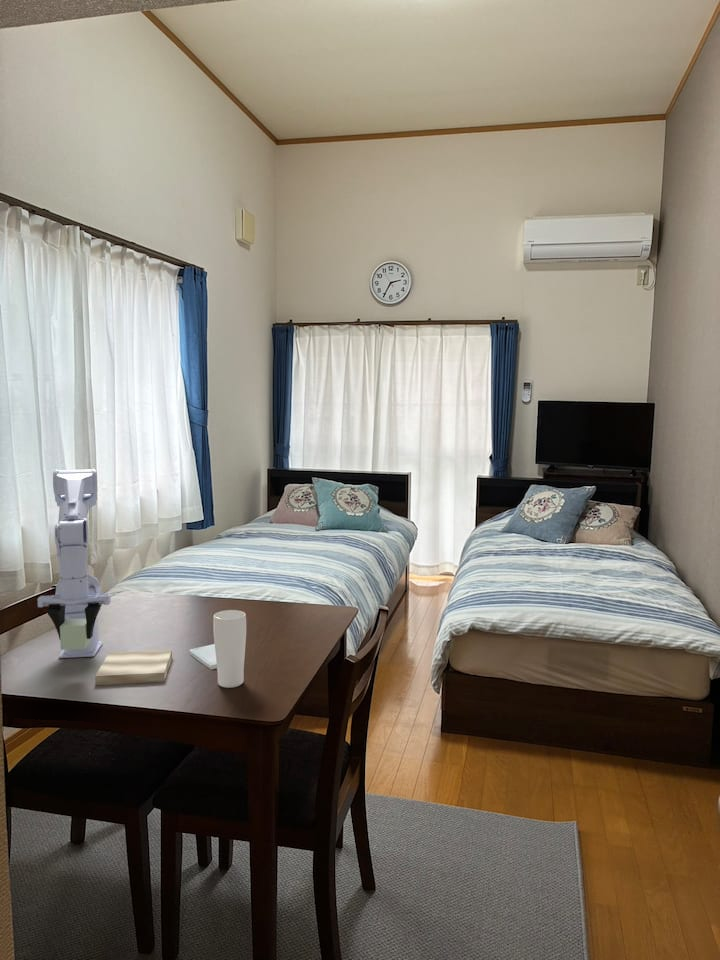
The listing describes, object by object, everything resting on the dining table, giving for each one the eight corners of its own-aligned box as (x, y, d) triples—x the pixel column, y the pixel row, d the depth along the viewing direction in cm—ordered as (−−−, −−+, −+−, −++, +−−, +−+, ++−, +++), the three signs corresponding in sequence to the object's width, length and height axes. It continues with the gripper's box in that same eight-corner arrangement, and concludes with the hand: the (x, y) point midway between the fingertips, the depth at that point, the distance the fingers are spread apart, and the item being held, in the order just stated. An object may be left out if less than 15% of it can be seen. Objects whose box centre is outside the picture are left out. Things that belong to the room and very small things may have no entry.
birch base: (109, 661, 160) (109, 652, 160) (172, 658, 162) (172, 649, 162) (95, 685, 146) (95, 676, 146) (164, 681, 148) (164, 672, 148)
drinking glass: (233, 692, 143) (231, 621, 141) (207, 686, 146) (206, 616, 144) (253, 681, 148) (252, 612, 147) (228, 675, 152) (227, 608, 150)
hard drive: (188, 649, 165) (210, 665, 155) (220, 642, 170) (244, 657, 160) (188, 656, 165) (211, 672, 155) (220, 649, 170) (244, 664, 160)
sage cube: (67, 641, 153) (66, 619, 152) (91, 640, 153) (90, 618, 153) (60, 649, 148) (59, 626, 147) (85, 648, 148) (84, 625, 148)
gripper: (31, 581, 144) (34, 645, 145) (104, 579, 146) (107, 642, 147) (42, 573, 151) (45, 634, 152) (112, 571, 153) (114, 631, 154)
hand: (76, 637), depth 150 cm, fingers closed on sage cube, 5 cm apart
